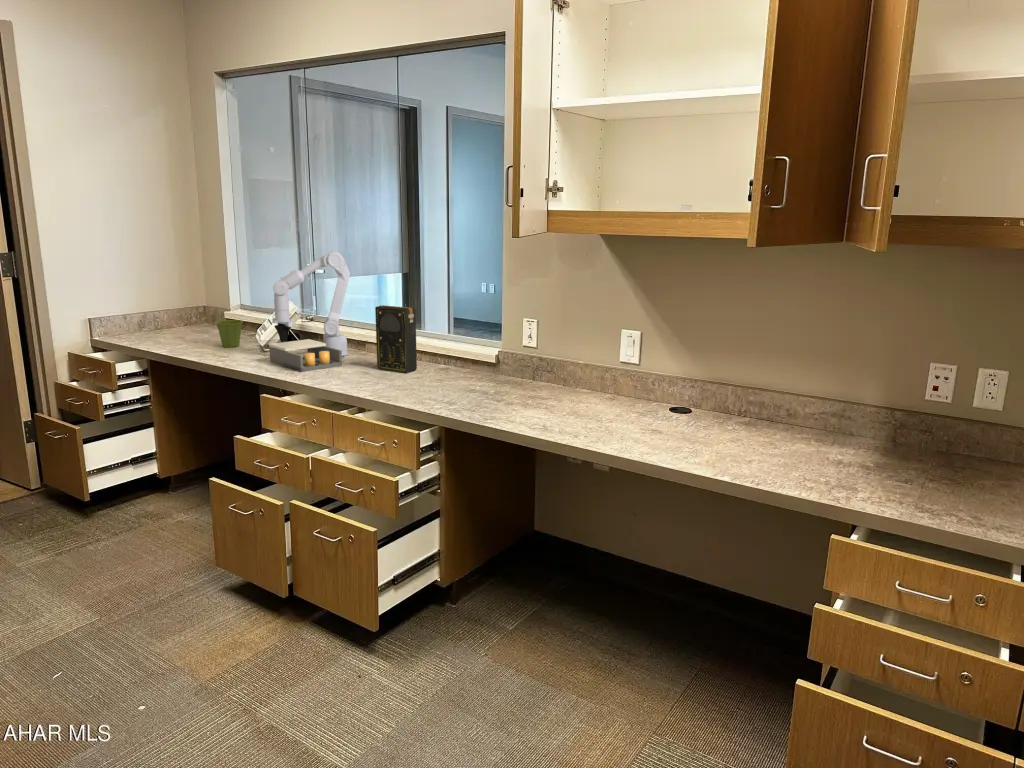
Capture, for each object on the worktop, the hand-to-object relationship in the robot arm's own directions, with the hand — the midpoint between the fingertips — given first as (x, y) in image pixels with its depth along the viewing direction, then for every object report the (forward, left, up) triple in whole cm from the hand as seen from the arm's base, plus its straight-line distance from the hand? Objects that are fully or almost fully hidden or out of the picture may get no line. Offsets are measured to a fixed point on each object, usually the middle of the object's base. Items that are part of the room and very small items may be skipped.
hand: (283, 341), depth 307 cm
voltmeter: (-21, +52, -7) cm, 57 cm away
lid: (0, +12, -1) cm, 12 cm away
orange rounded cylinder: (+3, +28, -7) cm, 28 cm away
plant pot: (+6, -40, -7) cm, 41 cm away
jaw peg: (-3, +28, -7) cm, 28 cm away
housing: (0, +18, -7) cm, 19 cm away
